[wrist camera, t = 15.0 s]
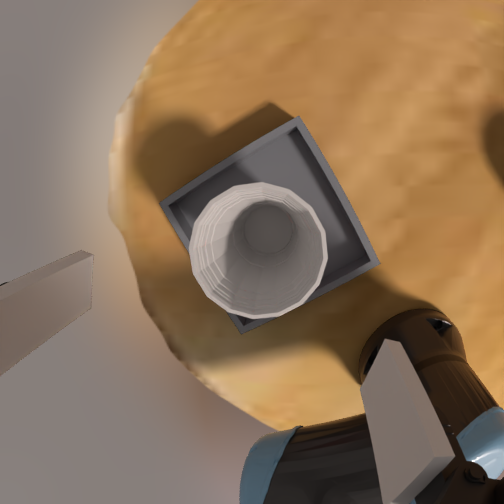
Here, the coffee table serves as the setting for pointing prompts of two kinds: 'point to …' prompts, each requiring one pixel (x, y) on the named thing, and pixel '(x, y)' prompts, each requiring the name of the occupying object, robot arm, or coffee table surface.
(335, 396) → the coffee table surface
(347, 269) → the bin
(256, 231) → the plastic cup
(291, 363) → the coffee table surface
